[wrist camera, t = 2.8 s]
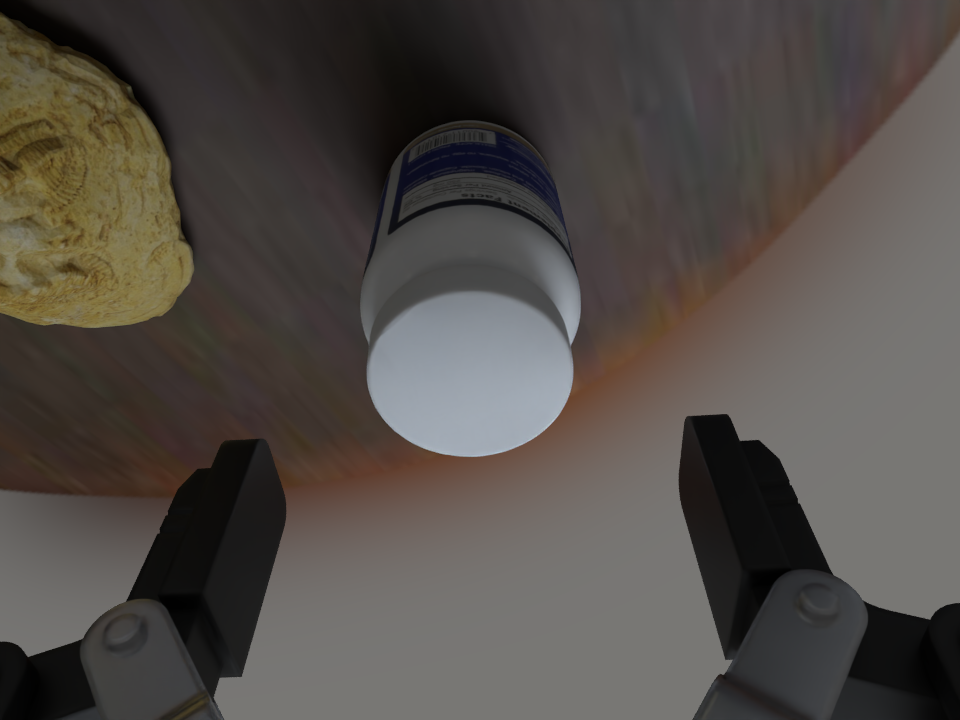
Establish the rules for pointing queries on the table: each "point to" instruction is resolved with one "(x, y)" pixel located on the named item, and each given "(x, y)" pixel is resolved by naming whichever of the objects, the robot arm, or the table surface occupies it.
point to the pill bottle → (469, 293)
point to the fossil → (81, 192)
